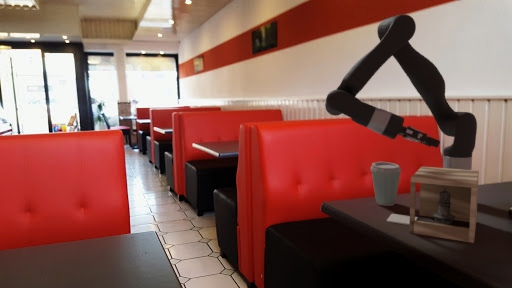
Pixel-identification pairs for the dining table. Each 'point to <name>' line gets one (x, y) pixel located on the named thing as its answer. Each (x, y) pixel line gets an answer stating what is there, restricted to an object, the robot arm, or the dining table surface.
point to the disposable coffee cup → (385, 182)
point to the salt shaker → (444, 209)
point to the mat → (400, 219)
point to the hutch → (461, 199)
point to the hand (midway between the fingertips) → (435, 144)
